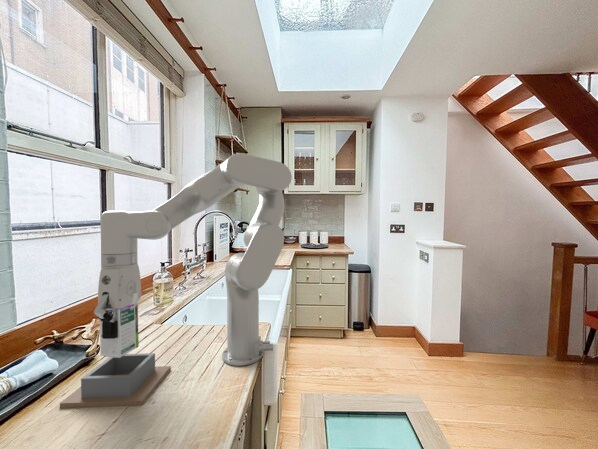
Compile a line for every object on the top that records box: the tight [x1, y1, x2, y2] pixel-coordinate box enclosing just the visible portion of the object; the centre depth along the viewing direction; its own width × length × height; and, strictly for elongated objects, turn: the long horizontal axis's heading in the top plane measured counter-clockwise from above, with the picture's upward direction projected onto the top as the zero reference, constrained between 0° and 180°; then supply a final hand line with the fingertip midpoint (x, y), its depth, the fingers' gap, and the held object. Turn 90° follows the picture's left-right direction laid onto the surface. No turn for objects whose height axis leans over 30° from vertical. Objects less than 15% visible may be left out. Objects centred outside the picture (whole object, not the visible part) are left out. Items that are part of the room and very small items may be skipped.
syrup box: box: [99, 292, 140, 358], centre depth 65 cm, size 6×6×14 cm
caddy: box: [59, 352, 172, 409], centre depth 65 cm, size 18×14×6 cm
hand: (120, 331), depth 65 cm, fingers closed on syrup box, 6 cm apart
